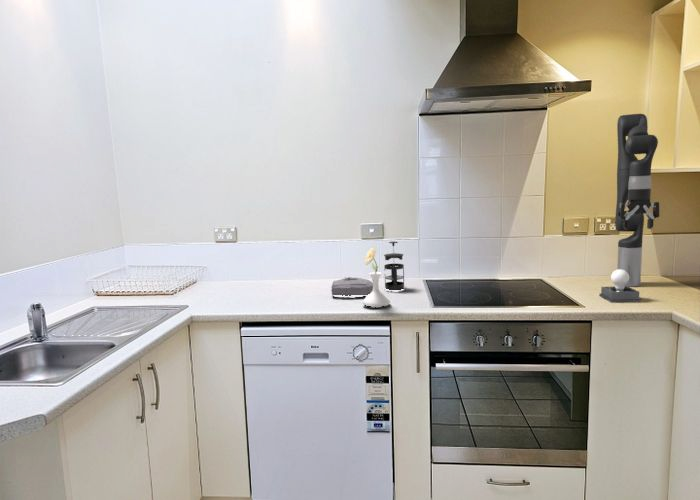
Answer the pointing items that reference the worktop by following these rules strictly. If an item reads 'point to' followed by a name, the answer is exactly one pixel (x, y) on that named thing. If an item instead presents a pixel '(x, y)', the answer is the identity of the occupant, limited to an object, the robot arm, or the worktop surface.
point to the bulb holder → (619, 295)
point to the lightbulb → (620, 279)
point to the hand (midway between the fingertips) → (637, 229)
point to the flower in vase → (374, 285)
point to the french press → (394, 271)
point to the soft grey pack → (352, 287)
